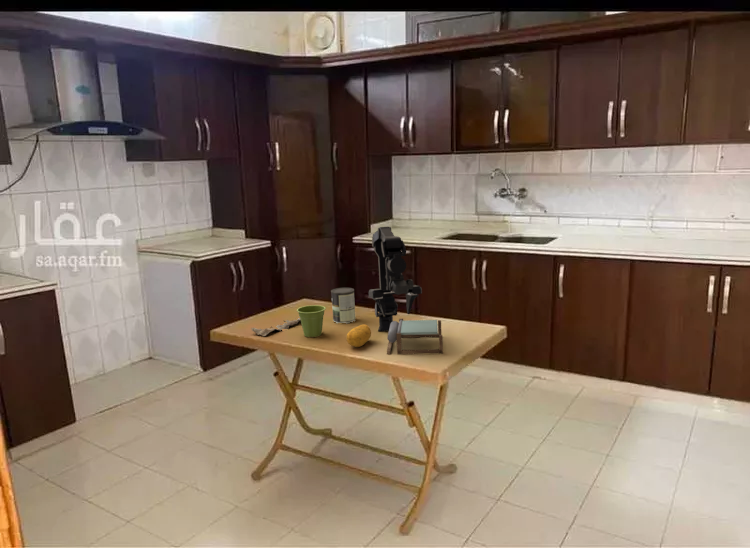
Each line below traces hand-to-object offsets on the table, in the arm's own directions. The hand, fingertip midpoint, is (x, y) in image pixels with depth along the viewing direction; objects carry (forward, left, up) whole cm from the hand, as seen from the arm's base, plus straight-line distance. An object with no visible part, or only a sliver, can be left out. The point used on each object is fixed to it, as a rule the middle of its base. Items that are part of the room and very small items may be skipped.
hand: (396, 315), depth 198 cm
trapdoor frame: (-7, +6, -14) cm, 17 cm away
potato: (-8, -15, -14) cm, 22 cm away
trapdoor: (-7, +5, -10) cm, 13 cm away
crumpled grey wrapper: (-37, -51, -14) cm, 65 cm away
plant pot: (-22, -36, -14) cm, 45 cm away
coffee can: (-43, -26, -14) cm, 53 cm away
